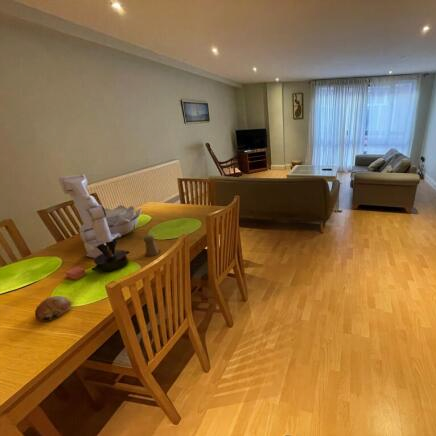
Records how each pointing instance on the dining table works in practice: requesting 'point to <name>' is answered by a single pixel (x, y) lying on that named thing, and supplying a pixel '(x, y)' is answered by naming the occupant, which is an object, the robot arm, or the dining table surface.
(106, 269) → the pan
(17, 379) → the dining table surface
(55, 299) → the bread roll
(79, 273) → the reddish pink block
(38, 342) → the dining table surface
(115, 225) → the decorative bowl
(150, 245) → the cork
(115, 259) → the pan lid
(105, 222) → the robot arm
